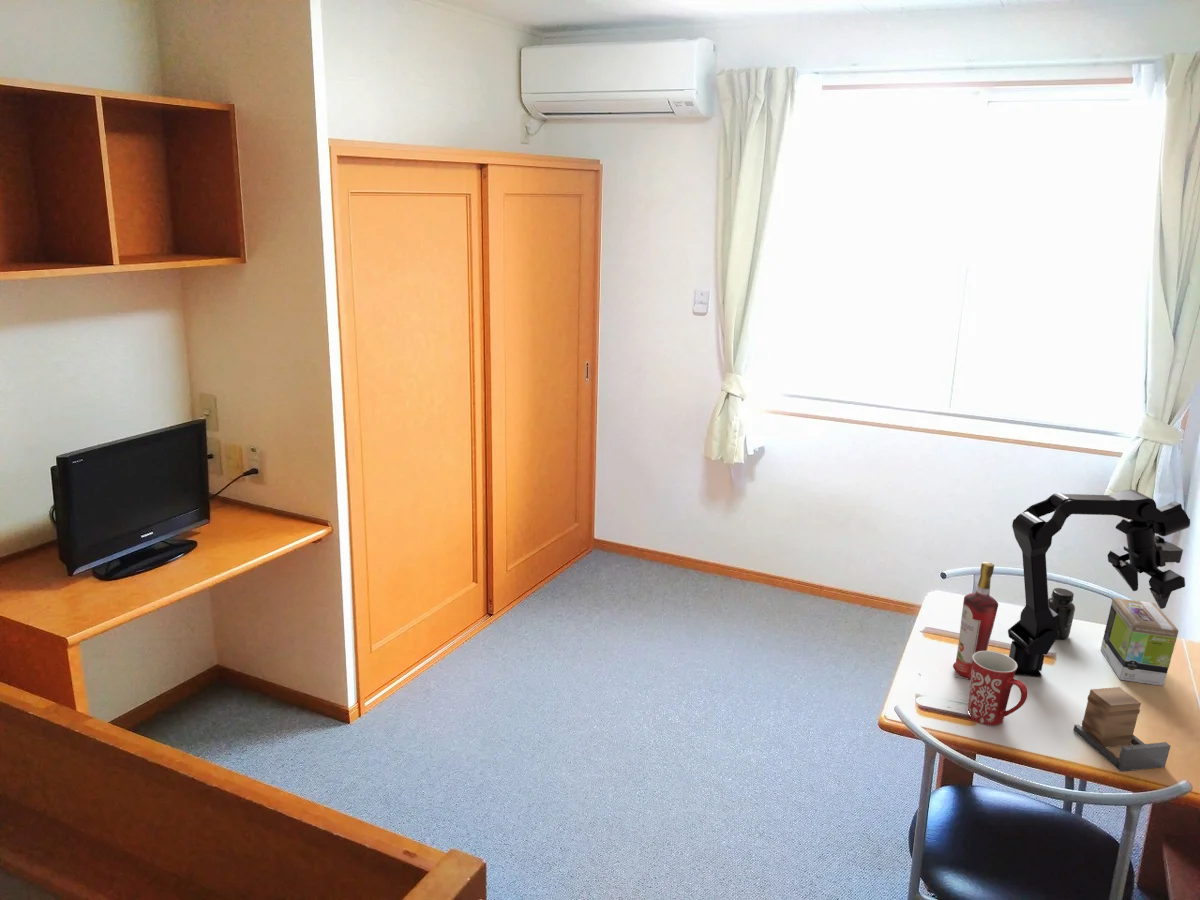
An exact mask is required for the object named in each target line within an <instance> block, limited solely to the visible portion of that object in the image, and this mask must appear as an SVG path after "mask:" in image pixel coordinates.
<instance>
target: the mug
mask: <svg viewBox="0 0 1200 900" xmlns="http://www.w3.org/2000/svg"><path fill="white" fill-rule="evenodd" d="M972 660H973V662H972V671H971V679H970V683H969V689H968V690H969V691H968V701H967V707H968V711H969V713H970V715H971V718H970V719H972V720H973V721H975V722H976V723H979V724H980V725H981V724H982V725H985V726H992V727H993V726H999V725H1001V724H1002V723H1003V722H1004V719H1005V717H1007V716H1009V715H1011V714H1013V713H1014V712H1017V710H1019V709H1020V708H1022V707H1023V706H1024V704H1025V703H1026V701H1027V699H1028V688H1027V686H1026V684H1025V683H1024V682H1023V681H1021V680H1019V679H1015V675H1016V674H1015V671H1016V670H1017V668H1018V665H1017V663H1016V662H1015V661H1014V660H1013V659H1012V658H1010V657H1009V655H1006V654H1004V653H1001V652H997V651H992V650H987V651H978V652H976V653H974V654H973V655H972ZM1012 686H1013V687H1014V686H1016V687H1017V688H1019V691H1020V699H1019V701H1018V703H1017V704H1016V705H1015V706H1013V707H1012V708H1010V709H1008V710H1007V707H1008V703H1009V699H1010V695H1011V690H1012Z"/></svg>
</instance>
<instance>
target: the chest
mask: <svg viewBox="0 0 1200 900" xmlns="http://www.w3.org/2000/svg"><path fill="white" fill-rule="evenodd" d="M1086 703H1087V704H1086V707H1085V711H1084V716H1083V720H1082V721H1081V727H1082V728H1083V729H1085V730H1086V731H1087V732H1088V733H1089V734H1091V735H1092V736H1093V737H1094V738H1095V739H1096V740H1098V741H1099V742H1100V743H1101V744H1102V745H1104V746H1105V747H1106V748H1113V747H1115V748H1117V747H1122V746H1129V745H1132V744H1131V740H1132V739H1133V736H1135V734H1134V732H1135V728H1136V723H1137V720H1138V717H1139V714H1140V711H1141V709H1140V708H1141V705H1142V704H1141V702H1140V701H1139V700H1138V699H1136V698H1135V697H1133V696H1132V695H1131V694H1129V693H1128V692H1127V691H1125V690H1124V689H1123V688H1121V687H1120V686H1118V687H1117V686H1116V687H1106V688H1105V687H1104V688H1091V689H1090V690H1089V693H1088V695H1087V702H1086Z"/></svg>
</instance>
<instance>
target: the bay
mask: <svg viewBox="0 0 1200 900" xmlns="http://www.w3.org/2000/svg"><path fill="white" fill-rule="evenodd" d="M1073 732H1074V733H1076V734H1077V735H1078V736H1079V737H1080V738H1081V739H1082V740H1084V742H1086V743H1087V744H1088V745H1089V746H1090V747H1091V748H1093V749H1094V750H1095V751H1096V752H1097V753H1098V754H1100V755H1101V756H1102V757H1103V758H1104V759H1106V761H1107V762H1109V763H1110V764H1111V765H1113V766H1114V767H1115V768H1116V769H1117V770H1118V771H1119V772H1129V771H1139V770H1150V769H1158V768H1159V769H1160V768H1165V767H1166V764H1167V760H1168V756H1169V754H1170V750H1171V744H1170V743H1168V742H1166V741H1164V742H1152V743H1144V742H1143V741H1142V740H1141V739H1139V737H1137V736H1136V735H1134V736H1133V739H1132V740H1131V744H1130V745H1127V746H1120V747H1121V748H1120V750H1119V751H1120V752H1119V756H1118V757H1117V755H1116V754H1114V753H1113V752H1112V751H1111V750H1109V749H1108V747H1105V746H1104V745H1102V744H1101V743H1100V742H1099V741H1098V740H1096V739H1095V738H1094V737H1093V736H1092V735H1091V734H1089V733H1088V732H1087V731H1086V730H1085V729H1083V728H1082V725H1080V724H1074V726H1073Z"/></svg>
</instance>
